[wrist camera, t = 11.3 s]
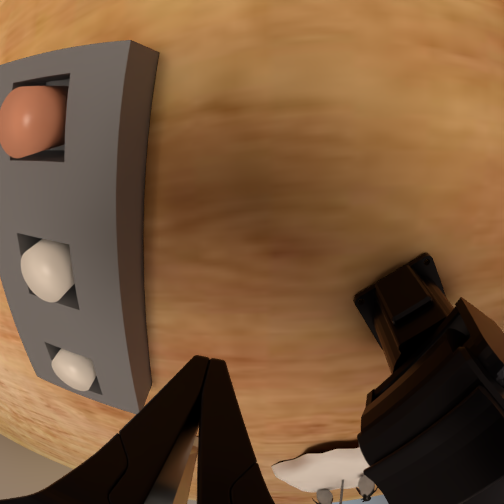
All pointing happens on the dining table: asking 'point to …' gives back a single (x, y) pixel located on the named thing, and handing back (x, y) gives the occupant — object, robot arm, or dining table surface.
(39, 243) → the button
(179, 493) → the skincare box
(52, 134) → the terracotta button
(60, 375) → the button
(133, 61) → the button panel
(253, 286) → the dining table surface
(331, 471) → the figurine
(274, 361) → the dining table surface
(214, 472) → the robot arm
